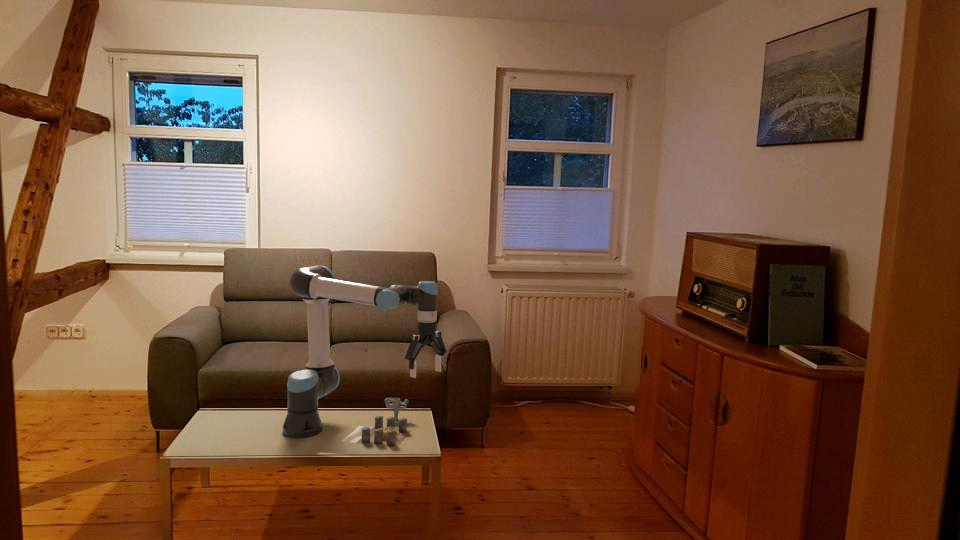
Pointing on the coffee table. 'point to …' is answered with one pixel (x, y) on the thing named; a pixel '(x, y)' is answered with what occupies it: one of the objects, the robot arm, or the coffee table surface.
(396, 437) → the board
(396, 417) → the mechanical component
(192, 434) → the coffee table surface
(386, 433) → the star-shaped block
